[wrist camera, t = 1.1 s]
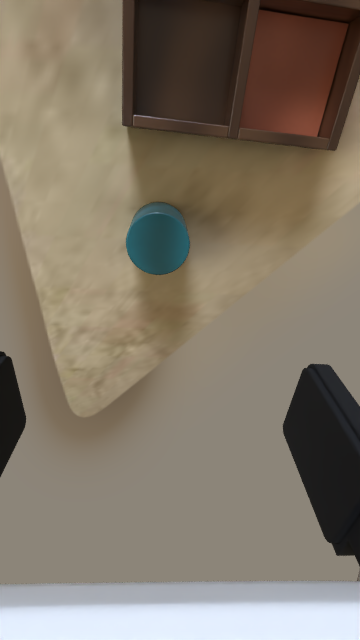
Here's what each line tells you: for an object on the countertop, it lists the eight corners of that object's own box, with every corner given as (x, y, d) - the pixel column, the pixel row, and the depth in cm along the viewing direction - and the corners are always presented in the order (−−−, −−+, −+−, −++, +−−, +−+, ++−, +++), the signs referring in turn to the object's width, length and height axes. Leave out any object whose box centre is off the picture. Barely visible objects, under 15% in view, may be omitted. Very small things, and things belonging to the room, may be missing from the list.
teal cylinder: (130, 255, 24) (125, 272, 21) (131, 199, 22) (126, 209, 19) (183, 259, 25) (186, 277, 22) (189, 204, 23) (193, 215, 19)
